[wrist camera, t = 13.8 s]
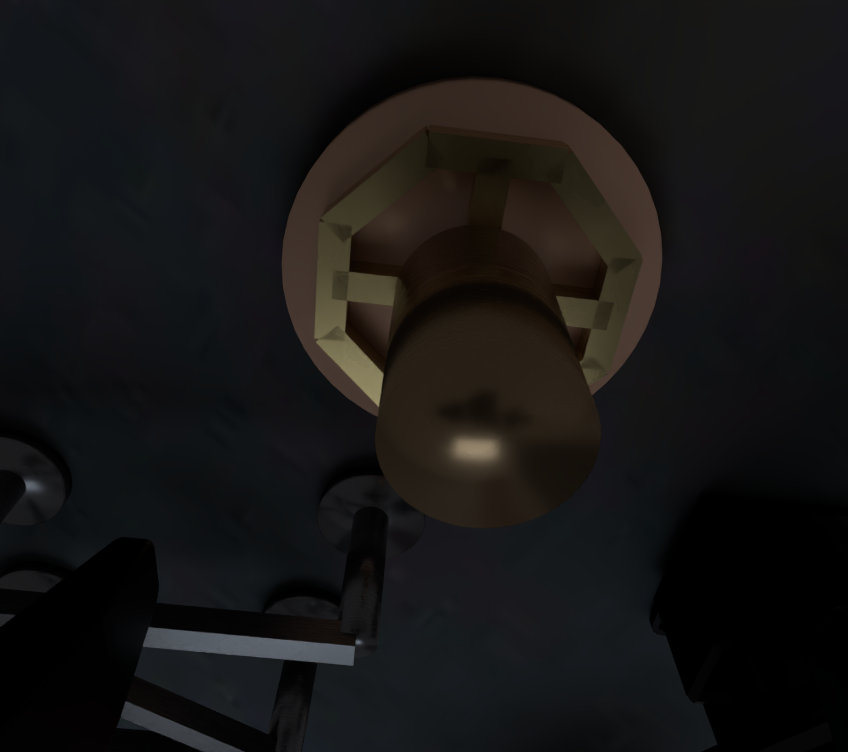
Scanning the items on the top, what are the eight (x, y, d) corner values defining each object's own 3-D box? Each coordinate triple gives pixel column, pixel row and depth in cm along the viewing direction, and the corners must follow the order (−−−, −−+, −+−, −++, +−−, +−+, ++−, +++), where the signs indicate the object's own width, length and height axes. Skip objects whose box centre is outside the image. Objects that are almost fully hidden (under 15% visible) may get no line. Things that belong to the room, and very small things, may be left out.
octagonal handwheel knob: (662, 153, 16) (792, 258, 10) (583, 426, 20) (644, 617, 14) (328, 111, 16) (261, 195, 10) (316, 397, 20) (262, 580, 14)
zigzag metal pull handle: (430, 472, 23) (428, 616, 18) (402, 659, 27) (393, 814, 22) (-51, 423, 22) (-198, 557, 17) (7, 623, 27) (-94, 775, 22)
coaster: (701, 103, 17) (716, 110, 16) (601, 435, 22) (607, 454, 21) (291, 50, 16) (283, 55, 15) (286, 401, 21) (280, 419, 20)
